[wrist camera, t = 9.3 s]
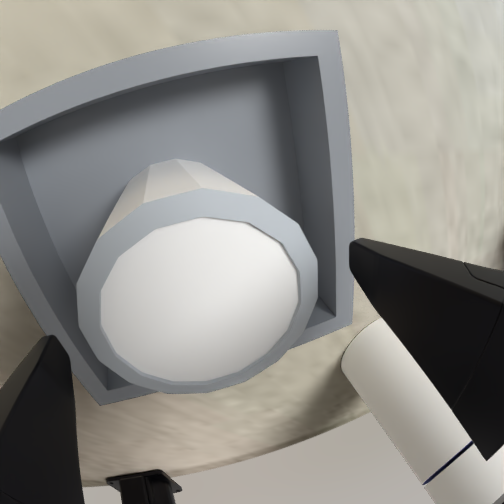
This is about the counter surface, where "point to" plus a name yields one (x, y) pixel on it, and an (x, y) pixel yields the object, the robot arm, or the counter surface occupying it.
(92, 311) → the short white cylinder
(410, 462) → the cylindrical container
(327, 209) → the tray
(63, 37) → the counter surface
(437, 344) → the robot arm
